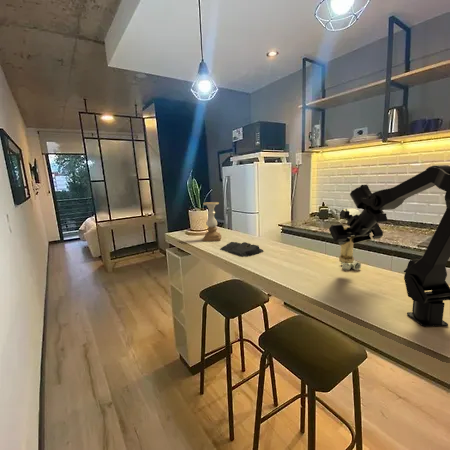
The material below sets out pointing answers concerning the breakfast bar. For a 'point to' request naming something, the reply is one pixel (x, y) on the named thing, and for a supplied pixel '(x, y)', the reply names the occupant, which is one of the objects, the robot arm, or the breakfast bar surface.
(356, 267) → the pipe fitting
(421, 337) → the breakfast bar surface
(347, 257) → the knob
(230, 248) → the dark slate chunk
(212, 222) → the candle holder
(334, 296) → the breakfast bar surface
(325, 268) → the breakfast bar surface
